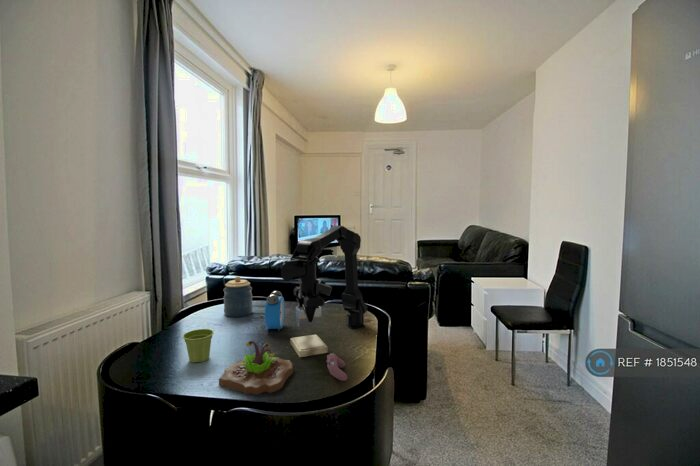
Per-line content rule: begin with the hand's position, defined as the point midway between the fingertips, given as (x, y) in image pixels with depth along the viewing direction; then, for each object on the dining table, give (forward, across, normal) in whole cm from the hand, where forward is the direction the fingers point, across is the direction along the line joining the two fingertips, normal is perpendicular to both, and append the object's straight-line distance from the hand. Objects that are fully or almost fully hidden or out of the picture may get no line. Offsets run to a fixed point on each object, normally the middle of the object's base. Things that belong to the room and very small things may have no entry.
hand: (308, 319), depth 126 cm
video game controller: (+11, -22, -2) cm, 25 cm away
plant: (+11, -14, +20) cm, 27 cm away
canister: (+11, +52, +19) cm, 56 cm away
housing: (+2, 0, 0) cm, 2 cm away
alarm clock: (+10, +25, +7) cm, 28 cm away
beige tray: (+10, 0, 0) cm, 10 cm away
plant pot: (+10, +5, +36) cm, 38 cm away
